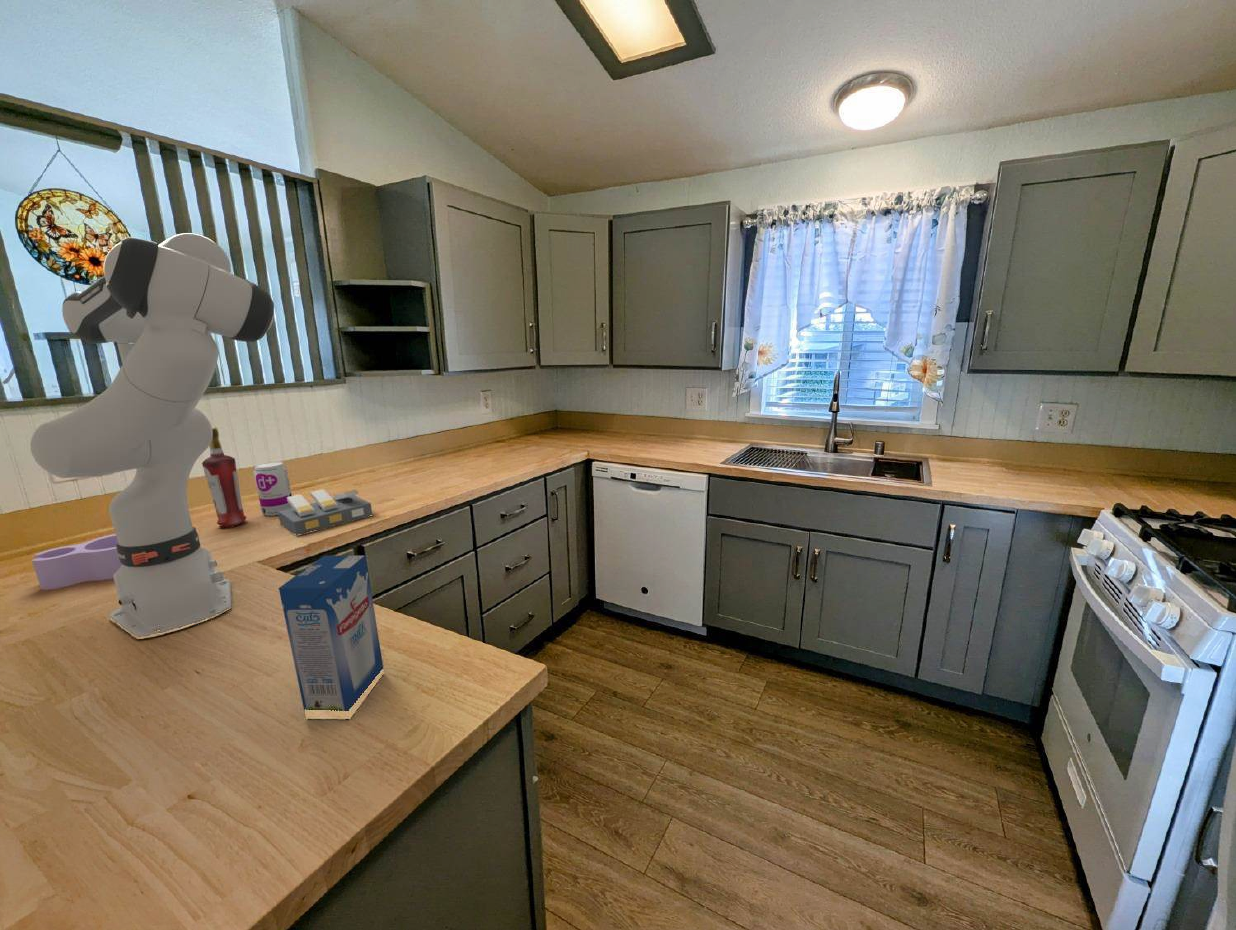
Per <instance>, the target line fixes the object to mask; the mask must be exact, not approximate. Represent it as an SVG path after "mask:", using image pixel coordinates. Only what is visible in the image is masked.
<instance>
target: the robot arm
mask: <svg viewBox="0 0 1236 930" xmlns="http://www.w3.org/2000/svg"><path fill="white" fill-rule="evenodd" d="M231 269H232V265H231V261H230V258H229V256H228V255H227V253H226V252H225V250H224V249H223V248H222V247H221V246H220V245H219V244H218V243H217V242H215V241H213V240H212V239H210V238H209V237H206V236H203V235H201V234H197V233H192V232H185V233H179V234H175V235H173V236H171V237H169V238H167V239H165V240H163V242H160V243H159V244H158V242H156V241H152V240H148V239H144V238H139V237H136V236H135V237H133V236H128V237H126V238H122V239H120V241H119V243H117V244H115V245H114V246H112V248H111V249H110V250H109V251H108V253H107V254H106V256H105V258H104V262H103V276H102V277H100V278H98V279H97V280H95V281H94V282H93V283H92V284H90V285H89V286H88V287H86V288H85V289H84V290H82V291H73V292H72V293H71V294H69V295H68V296H67V297H66V298H65V299H64V301H63V302H62V307H61V310H62V311H61V312H62V318H63V321H64V323H65V326H66V328H67V329H68V330H69V332H70V333H71V334H72V335H74V336H75V337H76V338H79V339H80V340H82V341H84V342H86V343H88V344H92V345H94V344H95V345H96V344H105V343H106V344H107V343H116V345H117V348H118V352H119V356H120V359H121V363H122V365H121V367H120V369H119V371H118V372H117V374H116V376H115V377H114V379H113V381H112V382H111V383H110V385H109V386H108V387H107V388H106V389H105V390H104V391H103V392H101V393H100V394H99V395H97V396H96V397H95V398H92V400H89V401H88V402H87V403H86V404H84V405H82V406H81V407H79V408H77V409H75V410H73V411H72V412H70V413H68V414H66V415H63V416H60V417H58V418H56V419H52V420H51V421H47V422H44V423H42V424H40V425H38V427H37V428H36V429H35V431H34V432H33V434H32V437H31V438H30V451H31V455H32V457H33V459H34V461H35V462H36V463H37V465H38V466H40V468H42V470H45V471H46V472H47V473H49V474H50V475H53V476H55V477H57V478H62V479H71V478H72V479H73V478H88V477H91V478H92V477H102V476H107V475H111V474H117V473H120V472H126V471H130V470H131V471H132V470H135V475H134V477H133V479H132V480H131V482H130V483H129V485H128V486H126V487H125V489H123V490H121V491H119V493H117V494H116V495H115V496H114V497H113V498H112V500H111V502H110V503H109V508H108V512H109V515H110V519H111V522H112V526H113V530H114V532H115V533H114V534H116V537H117V540H118V543H117V544H116V548H117V551H116V552H117V555H118V557H119V560H120V563H121V564H122V565H121V567H120V569H119V570H118V571H117V572H116V573H115V574H114V575H113V581H114V584H115V589H116V593H117V598H118V604H119V605H120V608H118V609H116V610H114V611H112V612H111V613H109V616H108V617H110V618H112V619H113V620H114V621H115V622H116V623H119V624H120V625H121V626H122V627H123V628H125V629H126V630H128V631H129V632H130V633H132V634H133V635H135V636H137V637H141V636H149V635H151V634H156V633H163V632H166V631H169V630H173V629H175V628H181V627H183V626H186V625H189V624H192V623H197V622H200V621H202V620H205V619H206V618H210V617H212V616H215V615H216V614H220V613H222V612H224V611H225V610H227V609H229V608H230V607H231V604H232V582H231V579H229V578H224V575H223V571H222V569H218V570H215V567H218V563H217V559H212V553H211V551H210V550H209V549H206V548H204V547H202V546H201V543H200V535H199V533H198V532H197V529H196V527H194V526H193V522H192V519H191V518H192V517H191V514H190V509H189V508H190V507H189V502H188V493H187V491H188V490H187V489H188V483H189V482H188V481H189V478H190V475H191V472H192V469H193V467H194V465H195V463H196V462H197V460H198V459H199V458H200V456H202V454H203V453H205V451H206V450H208V448H210V446H209V445H210V443H211V441H212V436H213V430H212V428H213V427H212V424H211V422H210V420H209V419H208V417H207V416H206V415H205V414H204V413H203V412H202V411H201V410H199V409H198V408H196V407H197V405H198V403H199V402H200V400H201V398H202V397H203V395H204V394H205V392H206V391H207V389H208V387H209V385H210V383H211V381H212V378H213V376H214V374H215V371H216V367H217V364H218V358H219V347H218V345H217V342H216V340H215V339H214V338H213V335H212V336H211V334H215V335H219V336H223V337H229V338H230V339H231V340H234V341H237V342H239V341H240V342H246V343H255V342H257V341H259V340H261V339H263V338H264V337H265V335H266V334H267V333H268V331H269V330H270V328H271V327H272V325H273V322H274V317H275V302H274V300H273V299H272V297H271V295H270V294H269V292H268V291H266V290H265V289H263V288H262V287H260V286H259V285H258V284H255V283H254V282H252V280H251V281H250V280H249V279H246V278H245V279H243V278H241V277H239V276H237V275H235V274H233V273H231V272H232V271H231ZM209 333H211V334H209ZM122 614H123V615H122ZM118 615H120V616H118ZM110 618H109V619H110ZM157 630H160V631H157ZM155 631H156V632H155Z"/></svg>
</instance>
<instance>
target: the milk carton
mask: <svg viewBox="0 0 1236 930" xmlns="http://www.w3.org/2000/svg"><path fill="white" fill-rule="evenodd" d="M368 569H369V568H368V562H367V554H366V555H364V554H362V555H361V554H360V555H359V554H358V555H355V554H354V555H349V554H348V555H323V556H321V557H320V558H319V559H317V560H316V561H314V562H313V563H311V564H310V565H309V566H308V567H306V568H304V569H303V570H301V571H300V572H299V573H298V574H296V575H295V576H294V577H292V578H291V579H289V580H288V581H287V582H285V583H283V584H282V585H281V586H280V587H278V591H279V596H280V601H281V606H282V611H283V616H284V619H285V621H284V622H285V624H286V629H287V633H288V635H287V636H288V639H289V645H290V650H291V655H292V659H293V664H294V668H295V673H296V678H297V683H298V687H299V692H300V697H301V702H302V706H303V707H302V708H303V711H304V710H305V709H306V710H331V711H332V710H334V711H335V710H336V711H338V710H339V711H349V709H350V708H351V707H352V706H353V705H354V703H356V701H357V700H358V698H360V696H361V695H362V693H364V691H365V690H366V689H367V688H368V686H369V685H370V684H371V683H372V681H373V680H374V679H375V677H376V676H377V675H378V674H379V673H380V671H381V670H382V669H384V664H383V657H382V651H381V645H380V638H379V633H378V632H379V631H378V624H377V619H376V613H375V606H374V599H373V593H372V587H371V581H370V580H371V579H370V574H369V570H368Z"/></svg>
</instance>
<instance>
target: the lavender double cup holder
mask: <svg viewBox="0 0 1236 930" xmlns="http://www.w3.org/2000/svg"><path fill="white" fill-rule="evenodd" d="M117 543H118V540H117V537H116V533H114V534H109V535H105V536H101V537H98V538H95V539H92V540H89V541H85V542H82V543H77V544H70V545H64V546H59V547H55V548H50V549H47V550H45V551H44V550H43V551H41V552H38V553H35V554H34V558H33V559H31V563H32V566H33V568H34V572H35V574H36V578H37V580H38V583H39V586H40V590H43V591H45V590H46V591H49V590H51V591H52V590H57V589H62V588H61V587H63V588H66V587H65V586H67V587H70V586H73V585H78V584H80V582H81V583H85V581H86V582H93V581H94V582H95V580H96V582H97V580H98V581H105V580H104V579H107V580H112V579H111V578H113V575H114V574H115V573H116V572H117V571H118V570H119V569H120V567H121V565H122V564H121V563H120V560H119V557H118V555H117V552H116V551H117V548H116V544H117ZM113 579H114V578H113Z"/></svg>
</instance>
